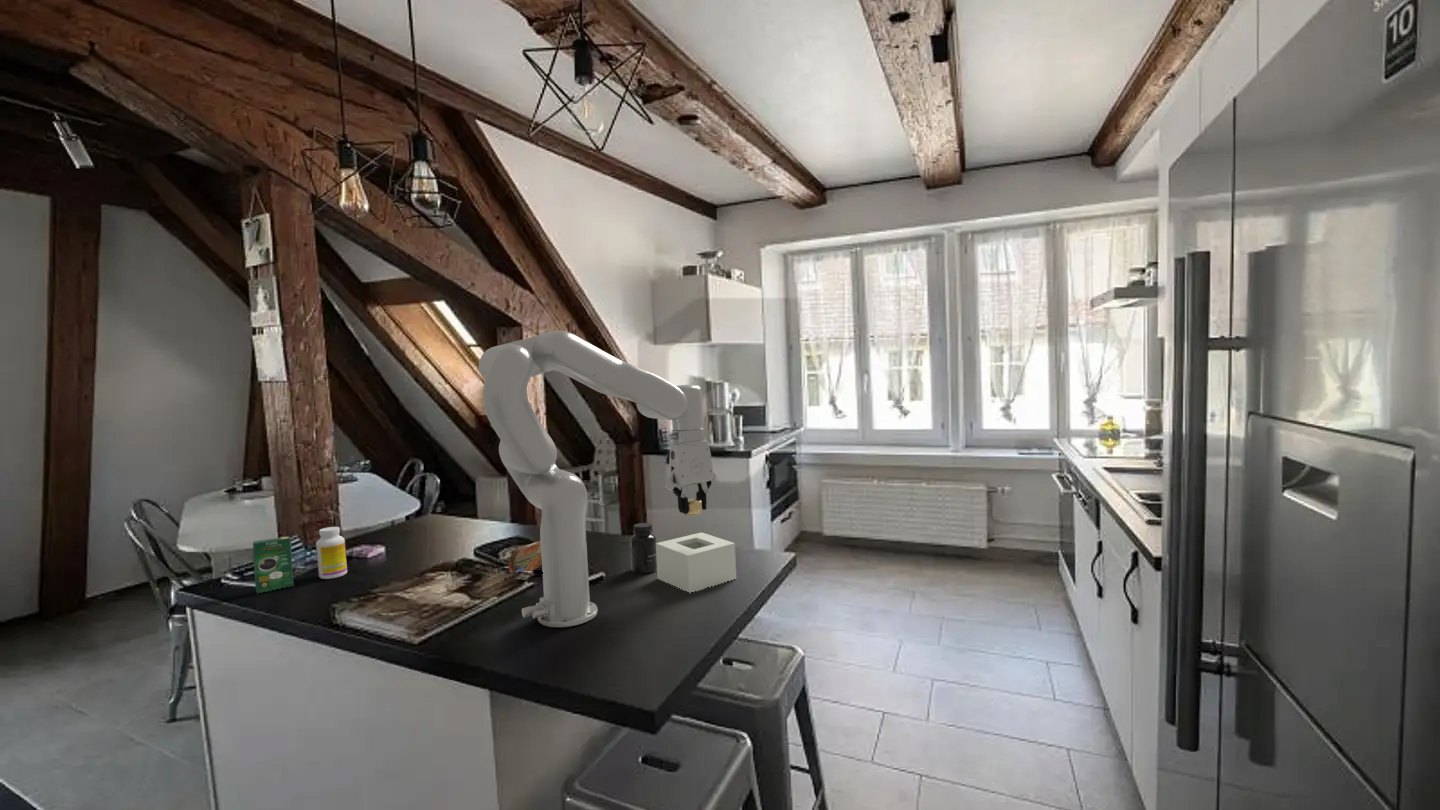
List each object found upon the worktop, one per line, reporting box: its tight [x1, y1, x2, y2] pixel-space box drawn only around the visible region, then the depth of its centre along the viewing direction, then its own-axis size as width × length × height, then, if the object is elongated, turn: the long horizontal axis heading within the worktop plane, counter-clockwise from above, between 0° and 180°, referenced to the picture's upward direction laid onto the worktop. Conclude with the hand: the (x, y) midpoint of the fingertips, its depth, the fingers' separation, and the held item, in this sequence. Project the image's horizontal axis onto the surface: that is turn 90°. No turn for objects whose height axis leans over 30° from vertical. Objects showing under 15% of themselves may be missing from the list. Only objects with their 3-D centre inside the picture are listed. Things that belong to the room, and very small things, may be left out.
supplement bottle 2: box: [629, 522, 658, 575], centre depth 168 cm, size 7×7×12 cm
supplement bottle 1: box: [315, 526, 348, 580], centre depth 174 cm, size 7×7×13 cm
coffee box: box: [252, 535, 295, 595], centre depth 164 cm, size 8×3×13 cm, turn 129°
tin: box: [508, 540, 542, 574], centre depth 168 cm, size 15×3×8 cm, turn 148°
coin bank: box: [656, 531, 737, 594], centre depth 160 cm, size 14×14×9 cm
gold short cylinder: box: [684, 497, 704, 516], centre depth 157 cm, size 5×5×3 cm
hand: (692, 509), depth 157 cm, fingers closed on gold short cylinder, 4 cm apart
